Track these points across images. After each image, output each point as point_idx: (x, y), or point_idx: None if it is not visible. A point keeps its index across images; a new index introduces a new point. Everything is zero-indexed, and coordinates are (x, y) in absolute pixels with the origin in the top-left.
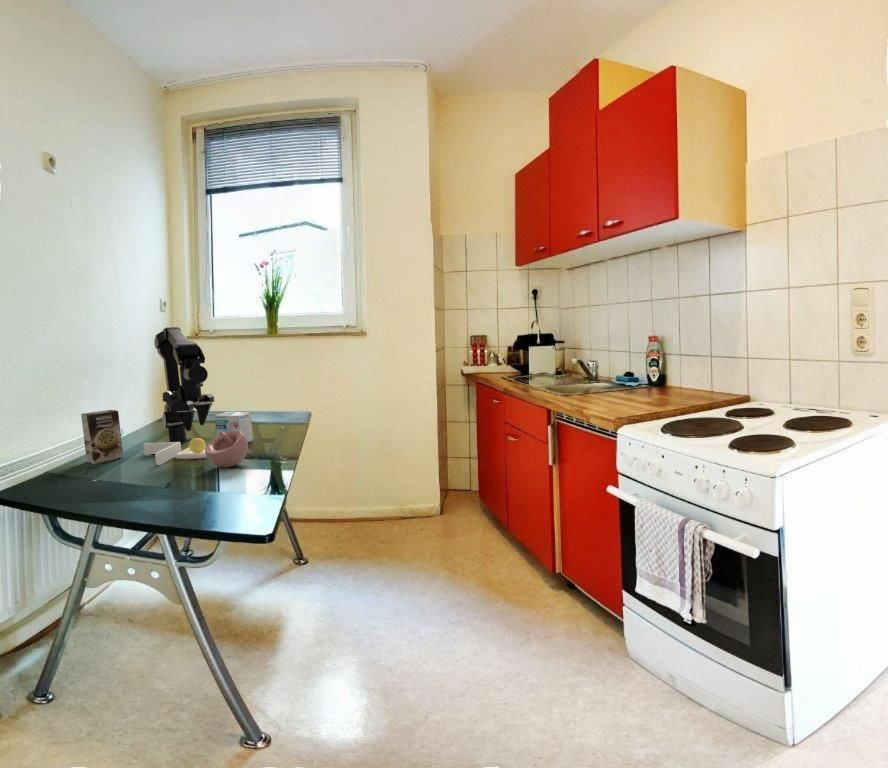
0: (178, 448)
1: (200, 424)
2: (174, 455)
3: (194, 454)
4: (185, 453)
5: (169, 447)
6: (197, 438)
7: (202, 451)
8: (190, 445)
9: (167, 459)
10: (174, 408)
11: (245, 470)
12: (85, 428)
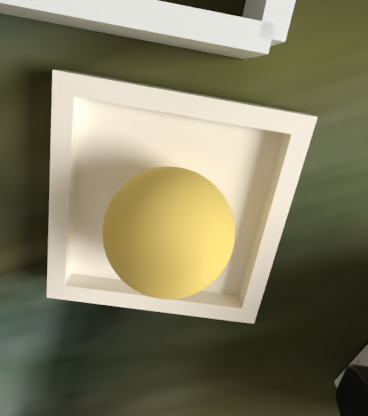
0: (207, 47)
1: (352, 373)
2: (127, 36)
3: (50, 224)
4: (70, 154)
5: (25, 8)
6: (156, 275)
7: None
8: (115, 199)
9: (12, 13)
10: None
11: None
12: None
